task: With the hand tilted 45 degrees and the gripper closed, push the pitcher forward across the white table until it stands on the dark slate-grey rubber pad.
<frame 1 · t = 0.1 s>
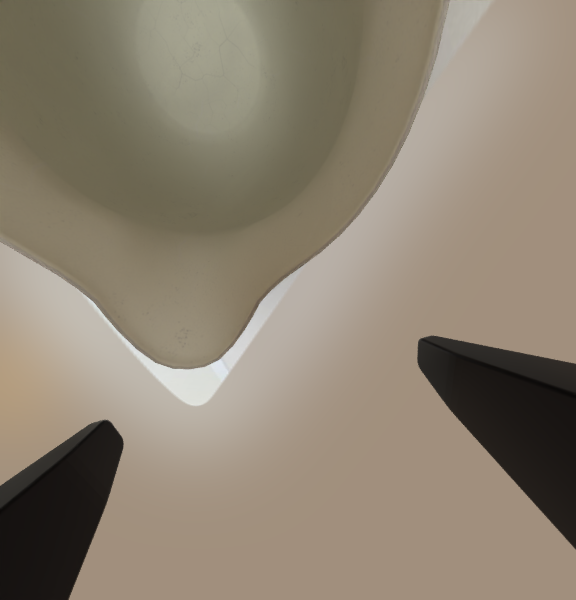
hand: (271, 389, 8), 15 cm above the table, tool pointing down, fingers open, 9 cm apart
pitcher: (201, 40, 14), on the table, touching slate pad
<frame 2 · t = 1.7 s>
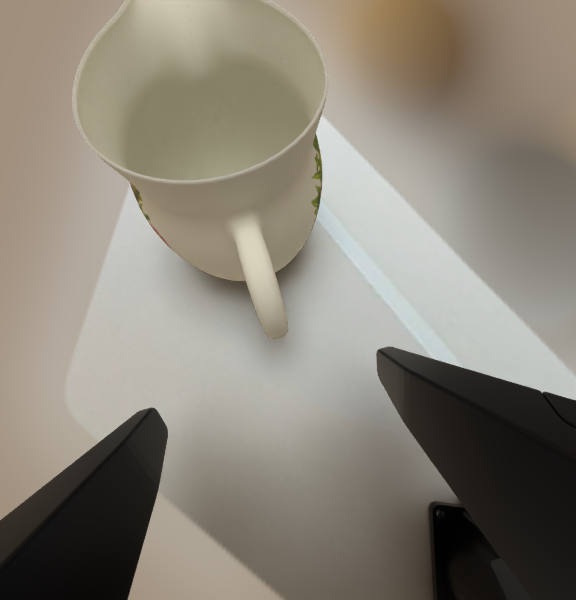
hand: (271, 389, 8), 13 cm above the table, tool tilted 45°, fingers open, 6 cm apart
pitcher: (253, 252, 23), on the table, touching slate pad
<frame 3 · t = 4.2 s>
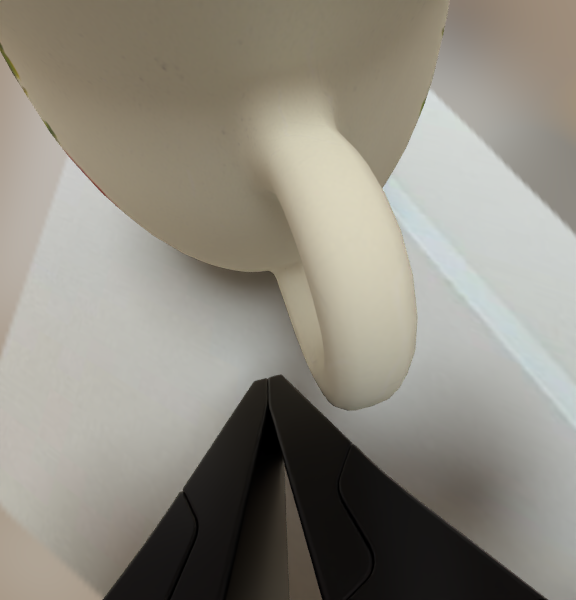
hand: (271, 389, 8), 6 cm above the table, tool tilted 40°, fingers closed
pitcher: (268, 225, 15), on the table, touching gripper
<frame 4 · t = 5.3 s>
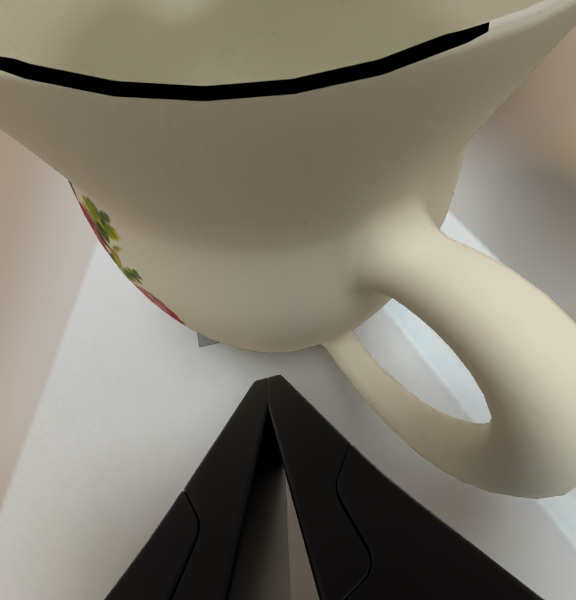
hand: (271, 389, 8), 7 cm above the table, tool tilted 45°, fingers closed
pitcher: (289, 294, 16), on the table, touching gripper
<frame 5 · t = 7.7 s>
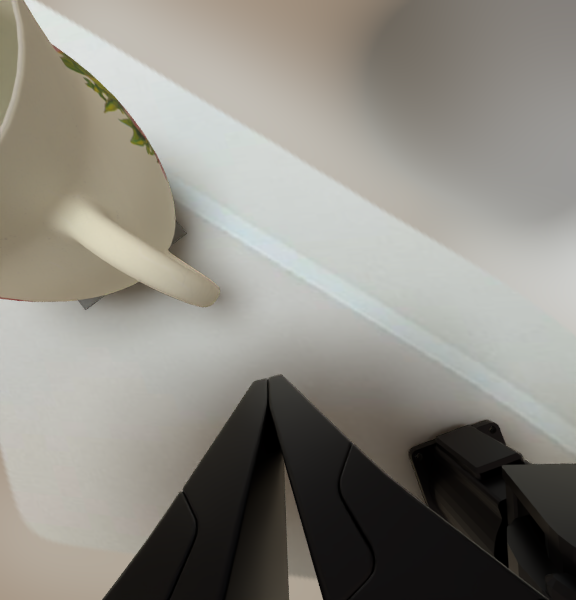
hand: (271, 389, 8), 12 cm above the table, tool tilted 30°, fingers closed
slate pad: (92, 210, 20), on the table
pitcher: (137, 240, 20), on the table, touching slate pad
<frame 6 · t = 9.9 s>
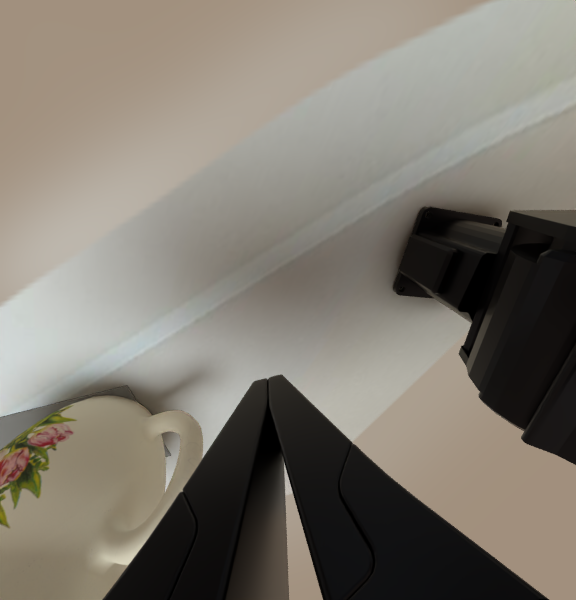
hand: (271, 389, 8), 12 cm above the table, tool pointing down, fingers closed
slate pad: (83, 437, 23), on the table
pitcher: (122, 417, 23), on the table, touching slate pad
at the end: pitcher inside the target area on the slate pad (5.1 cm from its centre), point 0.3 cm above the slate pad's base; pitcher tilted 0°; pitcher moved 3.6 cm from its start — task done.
